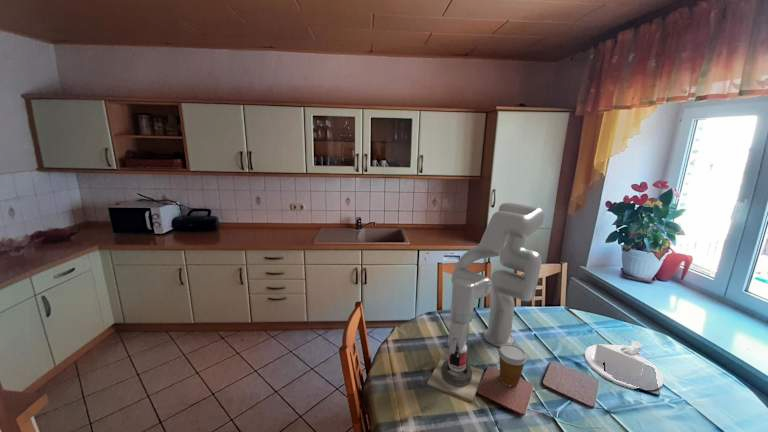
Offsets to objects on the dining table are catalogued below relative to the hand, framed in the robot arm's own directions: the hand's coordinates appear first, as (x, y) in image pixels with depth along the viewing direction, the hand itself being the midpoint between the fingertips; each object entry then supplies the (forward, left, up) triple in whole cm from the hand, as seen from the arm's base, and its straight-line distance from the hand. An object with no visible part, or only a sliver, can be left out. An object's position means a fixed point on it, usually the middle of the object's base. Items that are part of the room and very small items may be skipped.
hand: (457, 358), depth 115 cm
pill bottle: (0, 0, -3) cm, 3 cm away
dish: (-39, +54, -9) cm, 67 cm away
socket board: (0, 0, -8) cm, 8 cm away
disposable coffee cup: (-9, +17, -9) cm, 21 cm away
